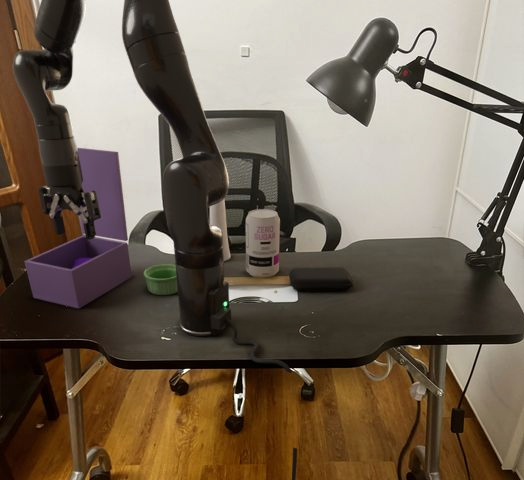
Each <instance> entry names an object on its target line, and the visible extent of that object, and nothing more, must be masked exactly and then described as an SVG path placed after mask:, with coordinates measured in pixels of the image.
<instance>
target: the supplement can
mask: <svg viewBox="0 0 524 480" xmlns="http://www.w3.org/2000/svg"><path fill="white" fill-rule="evenodd" d="M280 229H281V219H280V217H279V214H278V212H277V211H276V210H273V209H267V208H258V209H253V210H250V211H248V214H247V216H246V217H245V271H246V272H247V273H248V274H249V275H250V277H251V276H252V277H255V278H260V279H265V278H271V277H273V276H276V274H277V273H278V272H279V270H280Z"/></svg>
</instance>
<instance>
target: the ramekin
mask: <svg viewBox="0 0 524 480" xmlns="http://www.w3.org/2000/svg"><path fill="white" fill-rule="evenodd" d="M143 276H144V278H145V281H146V285H147V286H146V287H147V290H148V291H149V293H151V294H153V295H156V296H169V295H170V296H171V295H173V294H178V288H177V277H176V265H175V264H170V263H162V264H155V265H152V266H149V267H147V268H146V269H145V270H144V271H143Z"/></svg>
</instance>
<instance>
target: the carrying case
mask: <svg viewBox="0 0 524 480" xmlns="http://www.w3.org/2000/svg"><path fill="white" fill-rule="evenodd" d="M288 279H289V285H290V286H291V288H293V289H292V290H295V291H296V292H340V291H341V292H344V291H345V292H346V291H349V290H350V289H351V288H352V287H353V286H354V281H353V279H352V277H351V274H350V272H349V271H348V270H347V269H346V268H345V267H341V266H340V267H333V266H331V267H330V266H325V267H322V266H321V267H320V266H316V267H314V266H313V267H294V268H292V269H290V271H289V272H288Z"/></svg>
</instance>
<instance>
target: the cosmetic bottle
mask: <svg viewBox="0 0 524 480" xmlns="http://www.w3.org/2000/svg"><path fill="white" fill-rule="evenodd" d="M226 214H227V213H226V203H225V198H224V199H223V200H222V201H221V202H219V203H217V204H215V205H212V206H210V207H209V225H213V226H216V227H218V228H219V229H220V230H221V231H222V234H223V258H224V259H223V260H224V262H226V261H229V260H230V259H231V251H230V247H229V246H230V245H229V239H228V229H227V228H228V227H227V215H226Z"/></svg>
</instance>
